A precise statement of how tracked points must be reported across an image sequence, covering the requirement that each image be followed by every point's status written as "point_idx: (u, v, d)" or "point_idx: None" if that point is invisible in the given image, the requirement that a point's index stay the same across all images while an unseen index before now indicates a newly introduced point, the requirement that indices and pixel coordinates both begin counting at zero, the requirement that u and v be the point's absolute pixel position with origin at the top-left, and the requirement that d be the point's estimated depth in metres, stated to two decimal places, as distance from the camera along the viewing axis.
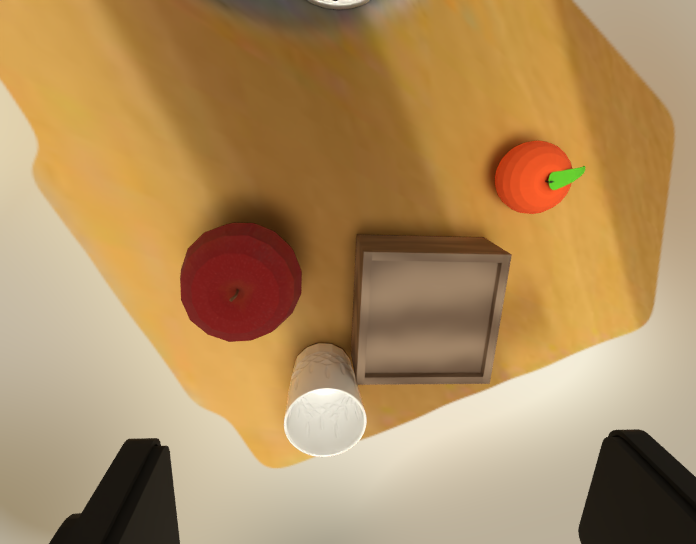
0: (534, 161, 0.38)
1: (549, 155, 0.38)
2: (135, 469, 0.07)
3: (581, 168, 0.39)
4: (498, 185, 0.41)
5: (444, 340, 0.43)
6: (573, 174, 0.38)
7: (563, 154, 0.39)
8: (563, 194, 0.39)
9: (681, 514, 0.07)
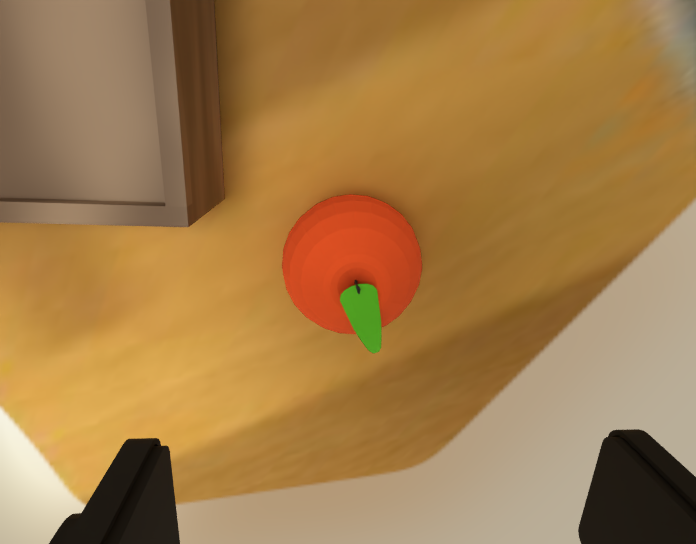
0: (396, 251, 0.18)
1: (406, 280, 0.19)
2: (135, 469, 0.07)
3: (378, 345, 0.20)
4: (338, 197, 0.20)
5: None
6: (370, 330, 0.19)
7: (403, 308, 0.20)
8: (328, 321, 0.19)
9: (681, 514, 0.07)
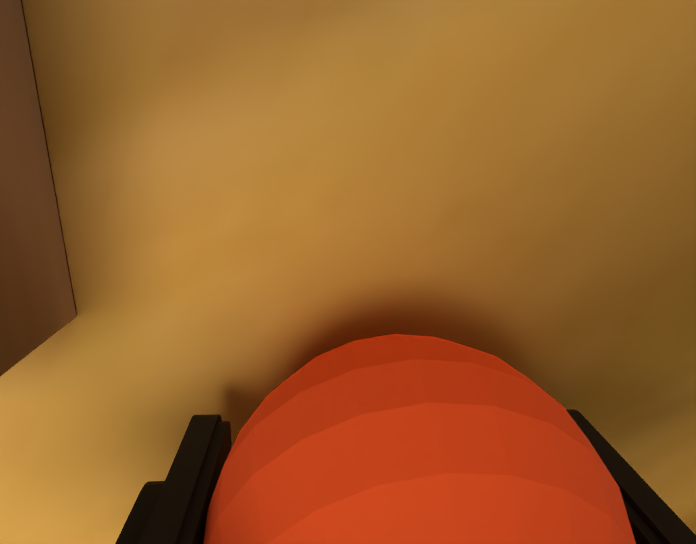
0: None
1: None
2: (206, 440, 0.08)
3: None
4: (373, 371, 0.06)
5: None
6: None
7: None
8: None
9: None
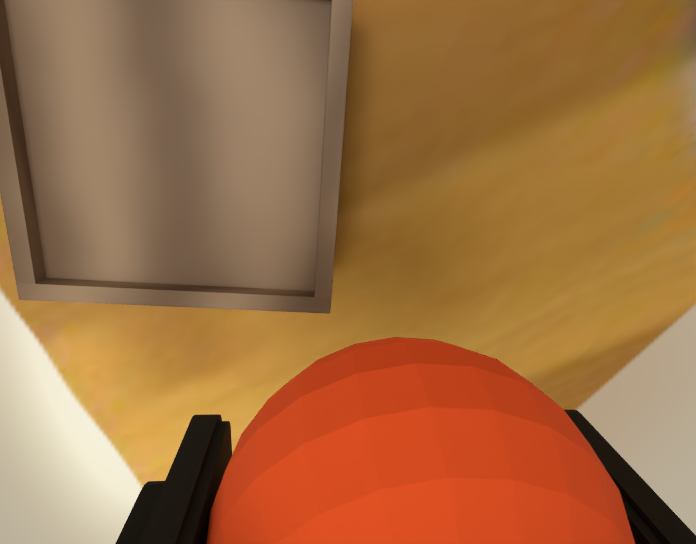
0: None
1: None
2: (206, 440, 0.08)
3: None
4: (375, 375, 0.06)
5: (123, 188, 0.19)
6: None
7: None
8: None
9: None
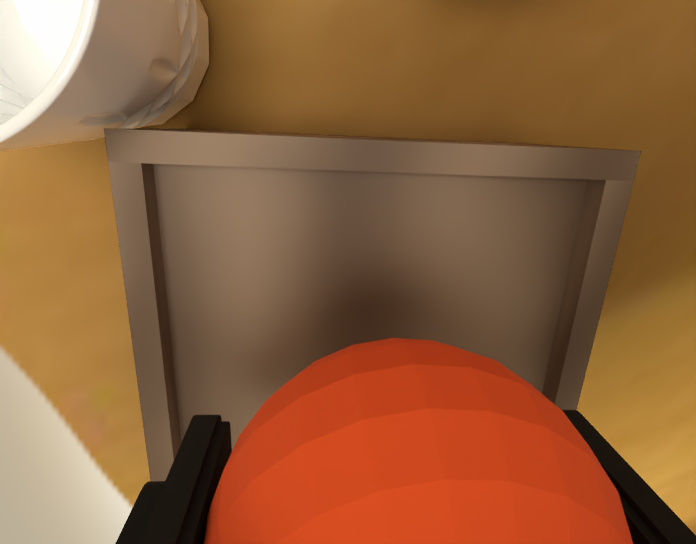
0: None
1: None
2: (206, 440, 0.08)
3: None
4: (373, 376, 0.06)
5: None
6: None
7: None
8: None
9: None
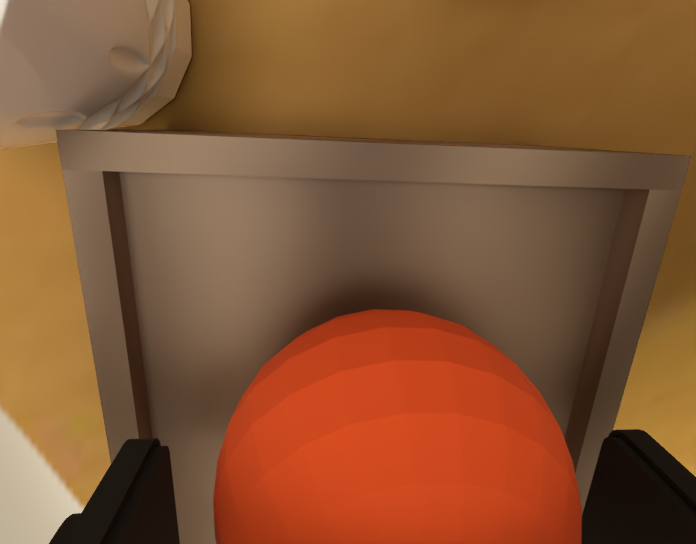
0: (544, 539, 0.06)
1: None
2: (135, 469, 0.07)
3: None
4: (351, 338, 0.07)
5: None
6: None
7: None
8: None
9: (681, 514, 0.07)
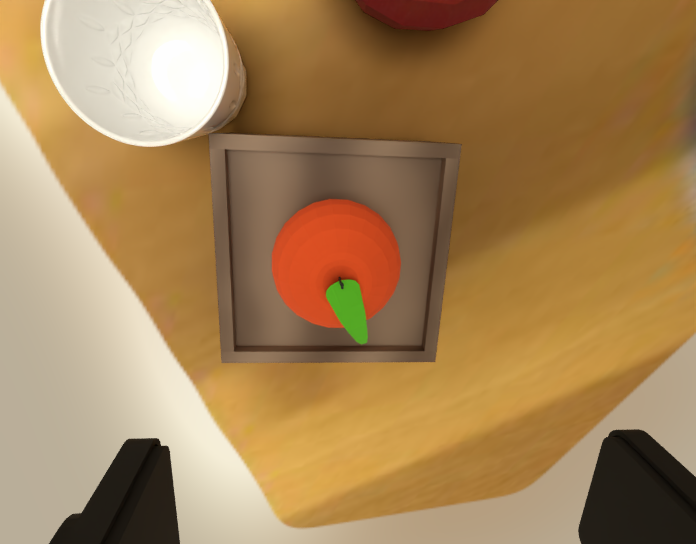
0: (374, 248, 0.20)
1: (386, 274, 0.21)
2: (135, 469, 0.07)
3: (365, 336, 0.21)
4: (319, 202, 0.22)
5: None
6: (356, 322, 0.21)
7: (385, 301, 0.22)
8: (317, 316, 0.21)
9: (681, 514, 0.07)
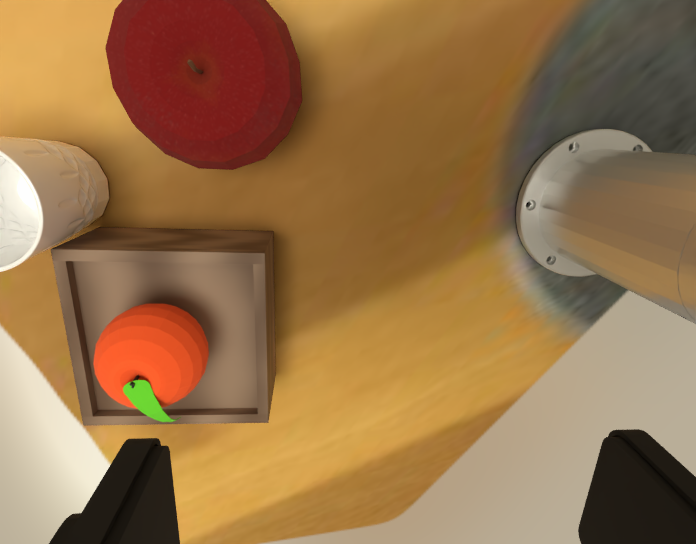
0: (162, 353, 0.25)
1: (176, 372, 0.26)
2: (135, 469, 0.07)
3: (167, 418, 0.27)
4: (130, 310, 0.27)
5: None
6: (154, 410, 0.26)
7: (185, 389, 0.27)
8: (124, 404, 0.26)
9: (681, 514, 0.07)
